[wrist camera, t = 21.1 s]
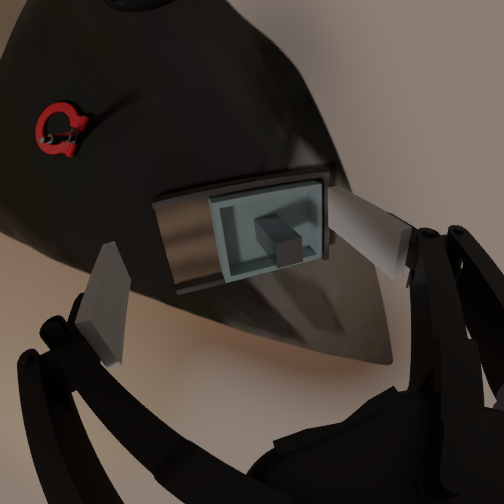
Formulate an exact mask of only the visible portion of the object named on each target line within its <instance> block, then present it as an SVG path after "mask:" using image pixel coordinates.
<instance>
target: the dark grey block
mask: <svg viewBox="0 0 504 504" xmlns="http://www.w3.org/2000/svg"><path fill="white" fill-rule="evenodd" d="M254 225H255V233H256V240H257V242H258V243H259V244H260V246H261V247H262V248H263V250H264V251H265V252H266V254H267V255H268V256H269V258H270V259H271V260H272V262H273V263H274V264H275V266H276V267H277V268H282V267H285V266H289V265H292V264H296V263H299V262H303V247H302V236H300V235H299V234H298V233H297V232H296V231H295V230H294V229H293V228H292V227H290V226H289V225H288V224H287V223H286V222H285V221H284V220H282V219H281V218H280V217H279V216H278V215H277V214H273V215H269V216H265V217H260V218H256V219H254Z"/></svg>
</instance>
